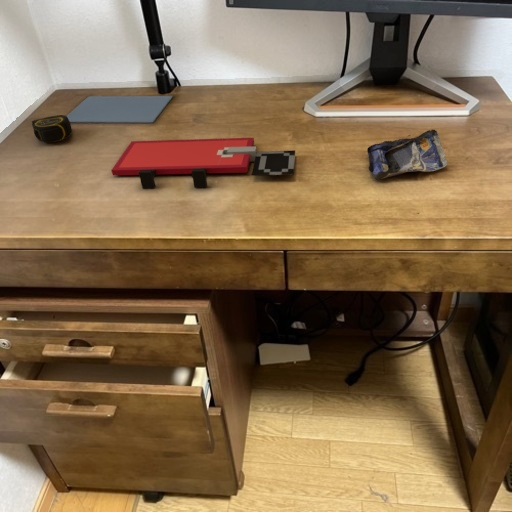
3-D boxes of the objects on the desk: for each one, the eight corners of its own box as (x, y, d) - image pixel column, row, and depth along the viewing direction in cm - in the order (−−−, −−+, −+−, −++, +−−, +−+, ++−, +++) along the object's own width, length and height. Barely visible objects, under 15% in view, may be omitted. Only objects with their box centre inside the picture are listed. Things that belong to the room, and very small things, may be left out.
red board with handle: (293, 185, 75) (296, 143, 87) (292, 169, 74) (295, 128, 85) (105, 189, 79) (133, 148, 91) (101, 173, 77) (129, 134, 89)
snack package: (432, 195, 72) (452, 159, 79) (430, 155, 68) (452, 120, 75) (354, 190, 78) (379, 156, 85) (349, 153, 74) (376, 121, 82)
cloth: (60, 122, 102) (60, 121, 102) (89, 97, 113) (88, 96, 112) (153, 123, 99) (152, 121, 98) (173, 97, 109) (172, 95, 109)
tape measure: (71, 128, 99) (65, 110, 97) (76, 141, 94) (70, 122, 92) (36, 136, 97) (29, 118, 95) (38, 149, 92) (31, 130, 90)
